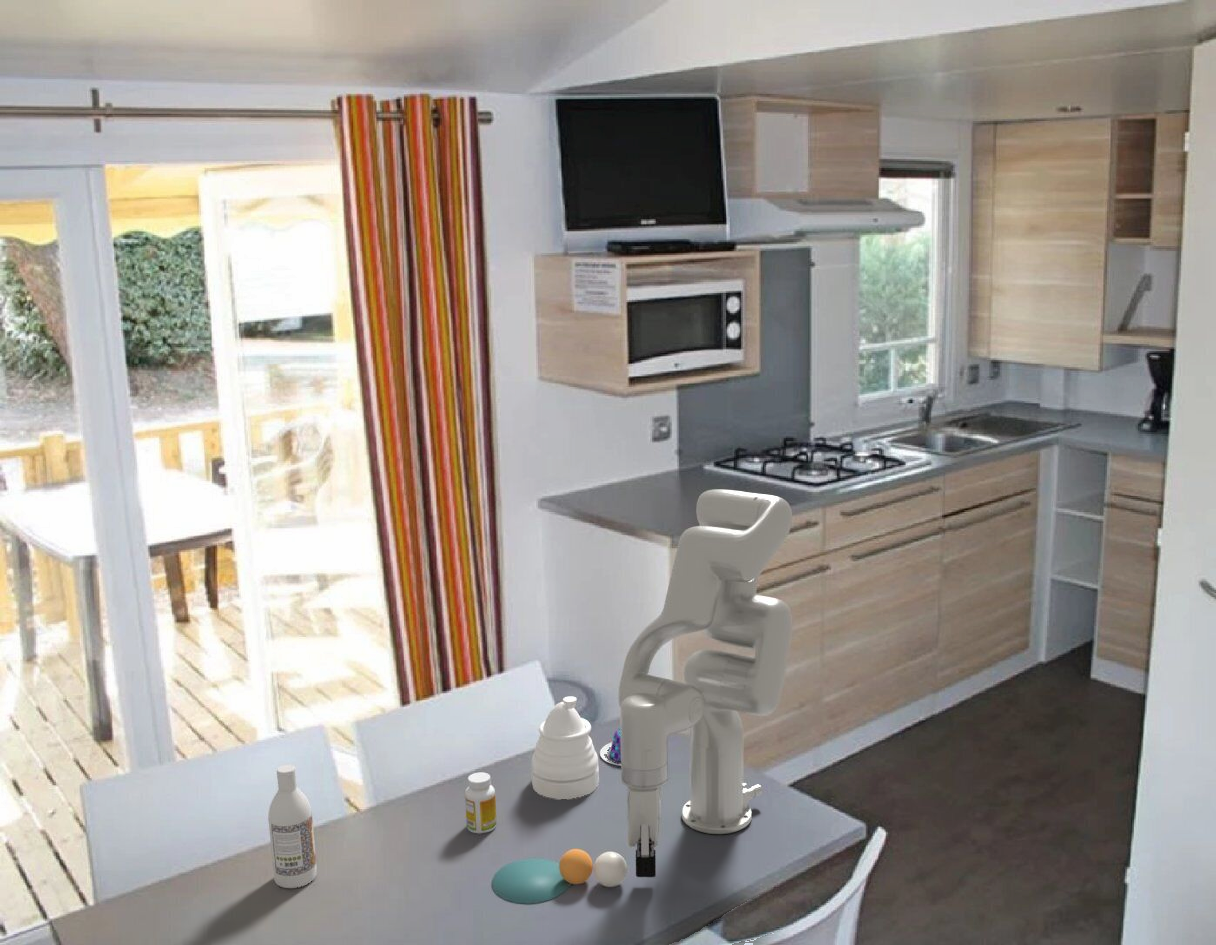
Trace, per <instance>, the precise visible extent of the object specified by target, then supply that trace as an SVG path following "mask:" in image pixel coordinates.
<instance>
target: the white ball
mask: <svg viewBox="0 0 1216 945" xmlns="http://www.w3.org/2000/svg"><path fill="white" fill-rule="evenodd" d="M593 873H594V877H595V880H596V881H597V883H599V884H600V885H602V886H604V887H607V888H614V887H617V886H619V885H620V884H622V883H623V882H624V881H625V879H626V877H627V873H628V865H627V862H626V860H625V858H624V857H623V856H622V855H621V854H619V853H618V852H616V851H605V852H603V853H601V854H600V855H599V856H598V857H597V858H596V859H595V861H594V863H593Z"/></svg>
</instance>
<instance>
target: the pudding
mask: <svg viewBox="0 0 1216 945" xmlns="http://www.w3.org/2000/svg"><path fill="white" fill-rule="evenodd" d="M609 747H611V749H610V750H609V751H607V750H608V749H609ZM607 752H608V753H609V755H610V756H609V758H612V757H614V758H613V759H614V760H616V761H621V733H620V728H617V730H615V733H614V734H613V739H612V741H611V742H609V743H607V744H605V745H603V747H602V748H601V749H600V751H599V756H600V757H601V759H602V760H603V761H605V762H607V763H609V764H612V765H614V766H620V767H621V763H619V764H615V763H612V762H609V761H607V760H608V759H607V758H605V756H604V754H607V755H608V753H607ZM614 760H613V761H614ZM616 761H615V762H616Z"/></svg>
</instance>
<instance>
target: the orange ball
mask: <svg viewBox="0 0 1216 945" xmlns="http://www.w3.org/2000/svg"><path fill="white" fill-rule="evenodd" d="M559 870H560V873H561V876H562V877H563V878H564V880H566V881H567V882H569V883H570V885H580V884H583V883H585V882H586V881H587V880H588V879H589V878H590V877H591V875H592V873H593V870H594V863H593V860H592V857H591V856H590V854H588V853H587V852H586V851H585V850H583V849H580V848H572V849H569V850H568V851H566V852H564V854H563V855H562V856H561V858H560V860H559Z"/></svg>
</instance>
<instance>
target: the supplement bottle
mask: <svg viewBox="0 0 1216 945" xmlns="http://www.w3.org/2000/svg"><path fill="white" fill-rule="evenodd" d="M491 782H492V781H491V775H490V774H489V773H487V772H483V771H482V772H481V771H480V772H474V773H472V774H470V775H468V777H467V785H468V787H466V789H465V790H464V791H465V793H464V799H465V802H464V803H465V818H466V828H467V830H468V831H469V832H471V833H473V834H486V833H490V832H493V831H494V830H495V829H496V827H497V823H498V821H497V819H498V818H497V804H496V801H497V800H496V789H495V787H494V786H493V785H492V783H491Z"/></svg>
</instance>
